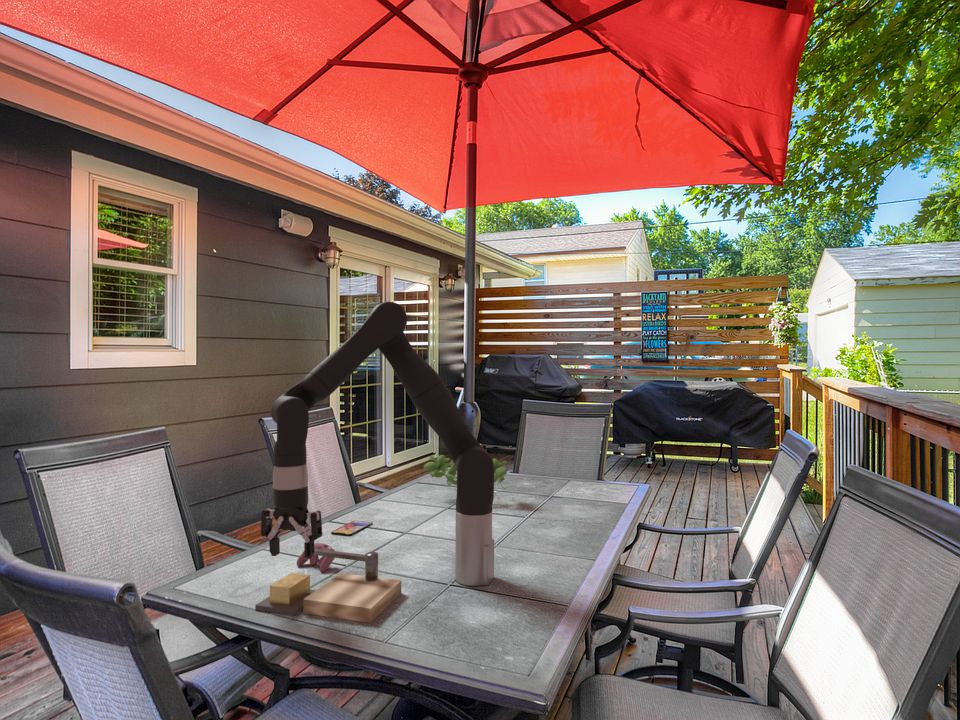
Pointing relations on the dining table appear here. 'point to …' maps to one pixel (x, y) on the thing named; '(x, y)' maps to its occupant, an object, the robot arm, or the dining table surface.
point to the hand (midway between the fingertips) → (291, 556)
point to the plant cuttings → (443, 464)
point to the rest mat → (290, 610)
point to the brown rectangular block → (289, 589)
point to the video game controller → (322, 562)
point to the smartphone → (351, 528)
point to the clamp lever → (368, 558)
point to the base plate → (352, 597)
